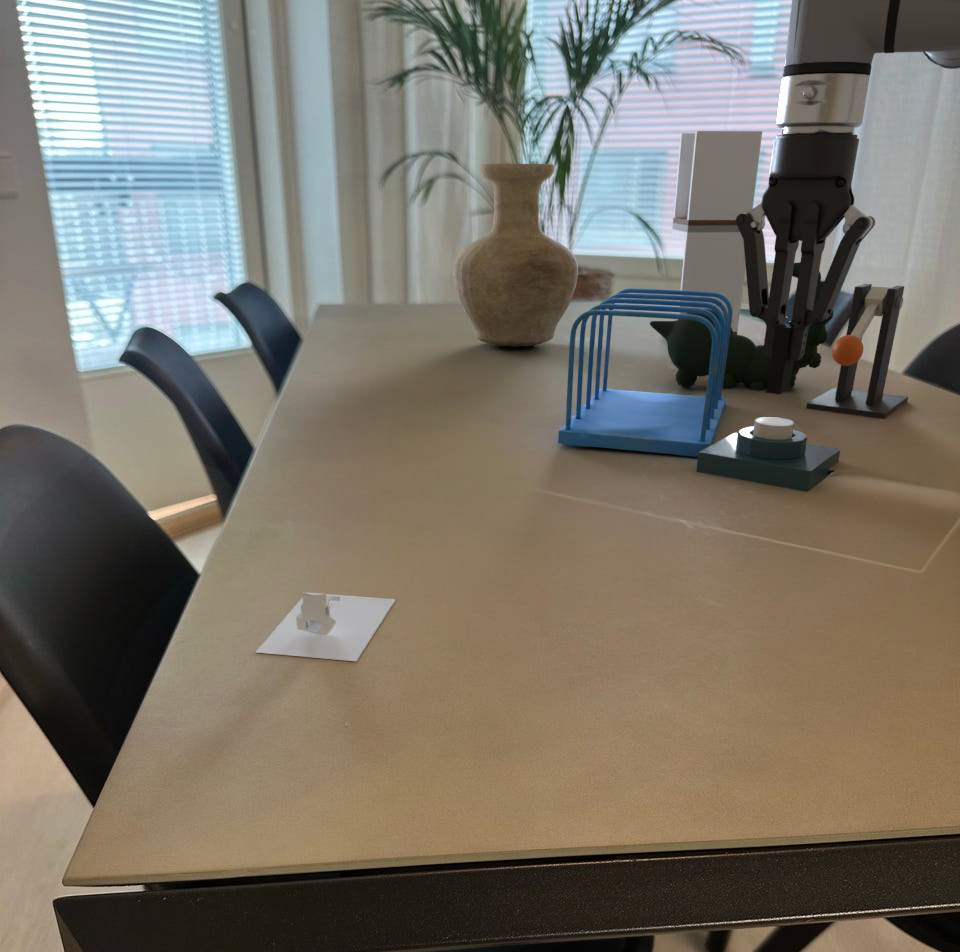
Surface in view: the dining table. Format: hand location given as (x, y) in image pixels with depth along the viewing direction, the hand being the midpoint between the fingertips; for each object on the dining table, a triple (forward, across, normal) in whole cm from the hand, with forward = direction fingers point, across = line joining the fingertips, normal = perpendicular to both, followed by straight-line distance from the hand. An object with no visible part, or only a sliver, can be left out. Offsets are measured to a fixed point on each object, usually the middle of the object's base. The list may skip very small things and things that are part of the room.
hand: (777, 391), depth 95 cm
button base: (+9, 0, 0) cm, 9 cm away
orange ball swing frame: (+8, 0, +34) cm, 35 cm away
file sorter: (+9, -19, +9) cm, 22 cm away
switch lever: (-1, 0, +30) cm, 30 cm away
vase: (+9, -67, +51) cm, 85 cm away
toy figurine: (+9, -19, +37) cm, 42 cm away
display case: (+9, -42, +78) cm, 89 cm away
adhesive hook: (+9, -12, -55) cm, 57 cm away
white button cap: (+5, 0, 0) cm, 5 cm away
